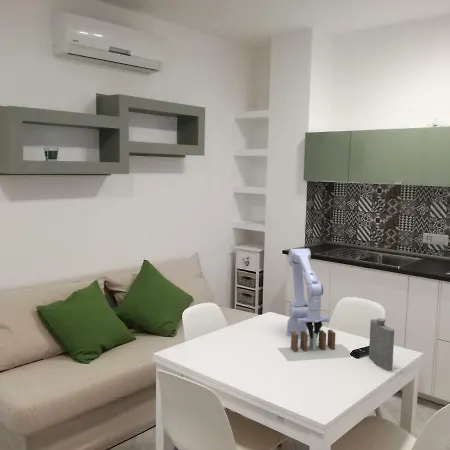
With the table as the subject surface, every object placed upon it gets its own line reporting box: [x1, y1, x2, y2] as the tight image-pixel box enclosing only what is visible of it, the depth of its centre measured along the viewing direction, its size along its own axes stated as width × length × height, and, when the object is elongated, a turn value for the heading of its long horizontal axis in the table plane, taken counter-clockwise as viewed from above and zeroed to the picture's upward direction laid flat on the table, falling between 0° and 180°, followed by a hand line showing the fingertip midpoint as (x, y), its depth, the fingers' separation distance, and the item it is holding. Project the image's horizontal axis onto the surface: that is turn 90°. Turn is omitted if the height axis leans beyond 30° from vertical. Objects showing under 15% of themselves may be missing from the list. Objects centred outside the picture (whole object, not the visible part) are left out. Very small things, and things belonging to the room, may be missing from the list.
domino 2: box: [299, 331, 309, 352], centre depth 235 cm, size 2×5×8 cm, turn 12°
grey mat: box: [277, 343, 353, 362], centre depth 233 cm, size 32×16×1 cm, turn 101°
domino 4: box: [326, 329, 336, 350], centre depth 238 cm, size 2×5×8 cm, turn 11°
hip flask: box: [368, 317, 395, 372], centre depth 220 cm, size 16×4×20 cm, turn 14°
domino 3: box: [317, 329, 327, 351], centre depth 237 cm, size 2×5×8 cm, turn 11°
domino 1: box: [290, 332, 299, 352], centre depth 235 cm, size 2×5×8 cm, turn 11°
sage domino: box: [308, 330, 318, 351], centre depth 236 cm, size 2×5×8 cm, turn 10°
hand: (313, 337), depth 236 cm, fingers closed on sage domino, 1 cm apart
